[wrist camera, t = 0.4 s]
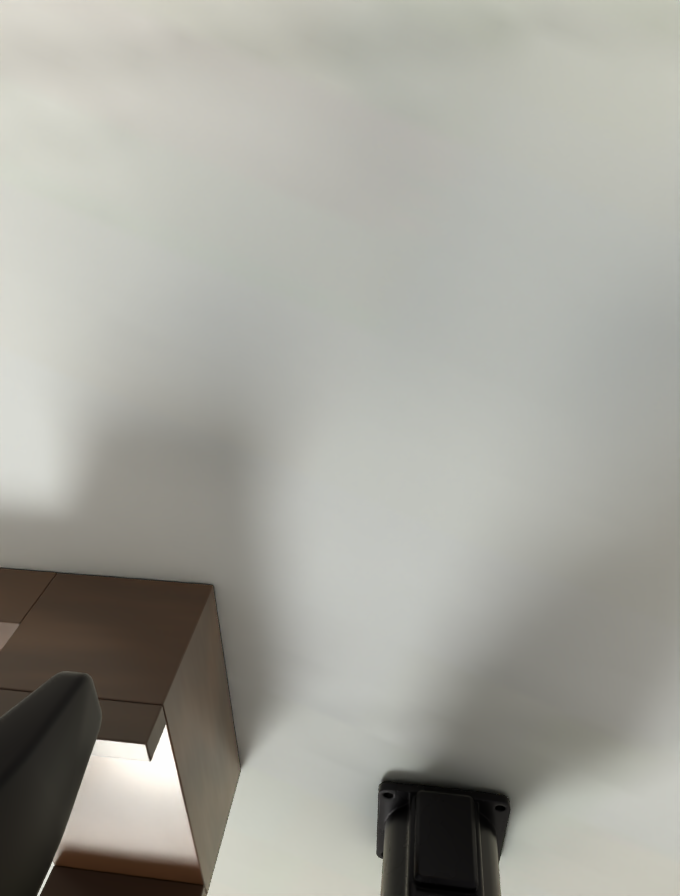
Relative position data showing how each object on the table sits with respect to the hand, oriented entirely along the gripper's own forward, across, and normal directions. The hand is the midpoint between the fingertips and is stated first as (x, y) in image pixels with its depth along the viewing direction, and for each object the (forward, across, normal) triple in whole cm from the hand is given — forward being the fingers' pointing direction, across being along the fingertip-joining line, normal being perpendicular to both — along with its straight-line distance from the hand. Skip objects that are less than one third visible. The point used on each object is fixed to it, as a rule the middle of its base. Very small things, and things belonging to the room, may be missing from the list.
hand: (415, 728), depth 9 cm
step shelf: (+14, +14, +18) cm, 27 cm away
